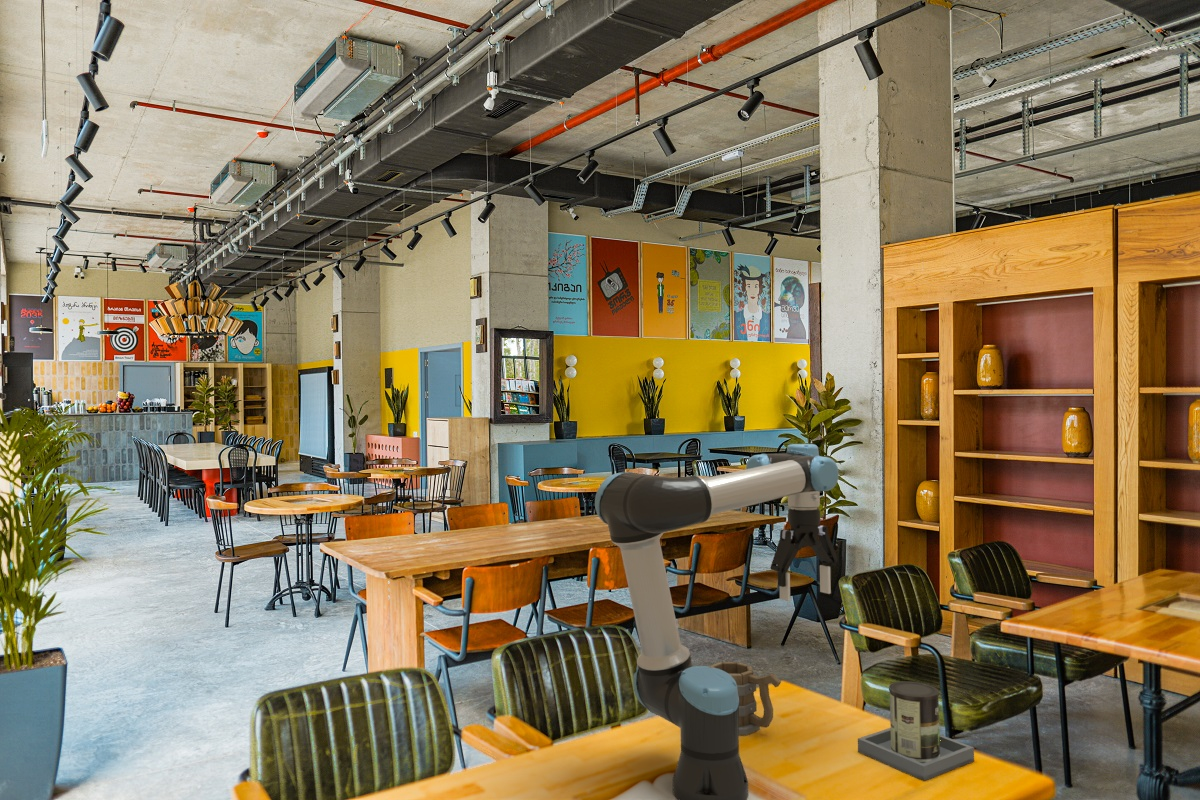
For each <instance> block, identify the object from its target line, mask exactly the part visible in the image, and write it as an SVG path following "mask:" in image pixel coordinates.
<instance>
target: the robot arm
mask: <svg viewBox="0 0 1200 800" xmlns="http://www.w3.org/2000/svg"><path fill="white" fill-rule="evenodd" d="M838 467H839V466H838V465H837V463H836V462H835V460H833V458H830V457H828V456H827V457H826V456H821V455H820V451H819V447H818V446H817V445H816V444H813V443H791V444H788V445H787V448H786V452H784V453H761V454H755V455H752V456H751V457H750V458H749V459H748V460H747V462H746V465H745V469H741V470H737V471H732V472H727V473H724V474H717V475H714V476H709V477H704V478H702V477H700V476H698V475H691V476H685V477H670V476H661V475H651V474H643V473H635V472H631V471H627V472H618V473H617V472H616V473H613V474H611V475H609V476H608V477H607V478H605V479H604V480H603V481H602V482H601V484H600V486H599V487H598V488H597V491H596V494H595V497H594V498H595V499H594V507H595V508H594V509H595V512H596V514H597V516H598V518H599V519H600V520H601V521H602V522H603V523H604V524H606V525H607V528H608V531H609V536H610V541H611V543H612V544H615V545H616V547H618V548H619V549H620V553H621V554H620V555H621V558H622V564H623V568H624V572H625V577H626V581H627V585H628V591H629V596H630V602H631V605H632V606H631V607H632V610H633V615H634V620H635V625H636V630H637V633H638V639H639V643H640V649H641V653H640V654H639V656H638V657H637V659H636V664H637V665H636V670H635V671H636V672H635V673H633V677H632V678H633V679H632V687H633V691H634V695H635V697H636V698H637V701H639V703H640V704H641V705H642V706H643V707H644V708H645V709H647V710H648V711H649V712H650V713H652V714H654V715H656V716H658V717H661V718H662V719H664V720H666V721H667V722H669V723H671V724H673V725H675V726H677V727H678V728H679V729H680V731H679V732H680V753H679V756H678V760H677V765H676V768H675V772H674V773H673V777H672V793H673V795H674V797H676V799H678V800H747V799H748V798H749V780H748V778H747V775H746V771H745V767H744V764H743V762H742V759H741V756H740V747H739V746H740V745H739V744H740V743H739V742H740V739H739V737H740V736H739V697H738V689H737V684H736V681H735V680H734V678H733V677H732V676H731V675H730V674H728V673H727V672H725V671H723V670H720V669H717V668H710V666H709V665H708V666H707V665H695V666H694V665H693V662H692V657H691V652H690V649H689V647H687V646H685V645H683V644H682V643H681V638H680V633H679V629H678V623H677V618H676V615H675V610H674V604H673V599H672V595H671V591H670V590H671V589H670V585H669V580H668V576H667V575H668V574H667V570H666V565H665V561H664V556H663V550H662V546H661V541H660V539H661V537H662V536H663V534H665V533H668V532H672V531H676V530H680V529H683V528H688V527H691V526H695V525H699V524H703V523H706V522H708V521H709V520H710V518H711V516H714V515H717V514H721V513H726V512H729V511H733V510H737V509H741V508H745V507H749V506H754V505H758V504H761V503H764V502H769V501H774V500H776V499H782V498H785V497H787V506H788V507H790V508H789V509H787V513H788V515H787V519H788V524H790V530H787V529H780V531H779V532H780V533H779V540H778V543H777V546H776V548H775V552H774V555H773V559H772V561H771V565H770V570H772V571H774V572H776V573H777V584H778V585H777V586H778V587H779V600H781V601H785V602H791V574H790V573H791V572H788V571H789V569H790V567H791V565H792V563H793V561H794V560H795V557H796V556H797V554H798V552H799V551H801V550H802V549H803V548H805V549H806V548H808V547H810V548H811V549H812V551H813V552H814V554H815V555H816V556H817V558H818V560H819V561H820V562H821V564H820V565H819V593H823V594H828V595H830V594H832V590H831V580H832V575H833V574H832V567H835V566H836V563H838V561H839V559H838V556H837V553H836V550H835V547H834V545H833V542H832V540H831V538H830V534H829V527H828V526H826V525H820V524H821V510H820V509H819V507H820V506H821V505H820V504H821V501H820V500H821V499H820V498H821V497H820V493H821V492H829V491H830V490H832V489H834V488H835V487H836V485H837V484H838V481H839V479H840V478H839V477H840V476H839V475H840V474H839V468H838Z"/></svg>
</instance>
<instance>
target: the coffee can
mask: <svg viewBox="0 0 1200 800" xmlns="http://www.w3.org/2000/svg"><path fill="white" fill-rule="evenodd" d="M888 690H889V716H890V717H889V718H890V722H889V723H890V728H891V750H892V751H894V752H896V753H899V754H901V755H904V756H906V757H908V758H911V759H913V760H915V761H918V762H928V761H931V760H933V759H936V758H939V757H940V743H939V734H940V710H939V709H940V707H939V706H940V704H939V695H940V692H939V689H938V688H937V687H936V686H933V685H930V684H928V683H923V682H920V681H911V680H909V681H907V680H905V681H902V680H901V681H896V682H892V683H890V684H889V685H888Z"/></svg>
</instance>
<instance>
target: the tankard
mask: <svg viewBox="0 0 1200 800" xmlns="http://www.w3.org/2000/svg"><path fill="white" fill-rule="evenodd" d="M709 667H710V668H717V669H720V670H723V671H725V672H727V673H728V674H730V675H731V676H732V677H733V678H734V680H735V681H736V684H737V689H738V697H739V735H746V736H748V734H749V735H751V734H753V733H754V732H758V731H759V730H761V728H769V727H770V725H771V722H772V721H773V719H774V707H773V703H772V700H771V696H770V688H769V684H771V685H772V686H774V688H778V687H779V686H780V685H781V683H782V681H781V680H780V678H778V677H777V675H775V674H774V673H771V674H768V675H764V676H759V675H758V676H757V675H754V670H753V667H752V666H751V665H749V664H746V663H742V662H739V661H738V662H737V661H721V662H716V663H713V664H711V665H710V666H709ZM757 685H758V691H759V698H760V701H761V704H762V708H763V715H762V717H761V716H758V715H757V714H756V712H757V710H758V709H757V705H758V703H757V701H756V698H755V695H754V693H756V692H757ZM750 733H751V734H750Z"/></svg>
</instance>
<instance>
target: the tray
mask: <svg viewBox="0 0 1200 800" xmlns="http://www.w3.org/2000/svg"><path fill="white" fill-rule="evenodd" d="M940 740H941V741H940ZM939 743H940V757H939V758H936V759H933V760H931V761H928V762H918V761H915V760H913V759H911V758H908V757H906V756H904V755H901V754H899V753H896V752H894V751H892V750H891V727H889V728H886V729H883V730H879V731H876V732H874V733H871V734H867V735H865V736H861V737H858V738H857V753H859V754H862V755H864V756H866V757H868V758H870V757H871V758H870V759H873V760H875V759H876V760H875V761H877V760H878V761H877V762H879V761H880V762H879V763H882V764H884V765H887V766H888V765H889V766H888V767H890V768H894V769H896V770H897V771H900V772H901V773H904V772H905V774H907V773H908V774H907V775H909V774H910V775H909V776H911V775H912V776H911V777H913V776H914V778H916V779H918V780H920V779H921V781H922V780H923V782H925V780H926V781H928V780H931V779H934V778H936V777H938V776H941V775H943V774H946V773H949V772H951V771H953V770H956V769H959V768H961V767H964V766H966V765H969V764H972V763H973V762H975V747H973V746H971V745H969V744H965V743H963V742H960V741H958V740H955V739H953V738H950V737H947V736H944V735H942V734H940V733H939Z"/></svg>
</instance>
